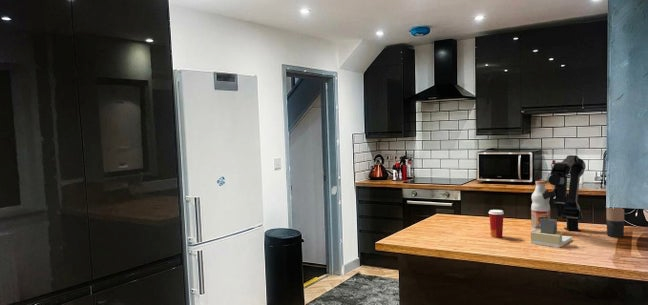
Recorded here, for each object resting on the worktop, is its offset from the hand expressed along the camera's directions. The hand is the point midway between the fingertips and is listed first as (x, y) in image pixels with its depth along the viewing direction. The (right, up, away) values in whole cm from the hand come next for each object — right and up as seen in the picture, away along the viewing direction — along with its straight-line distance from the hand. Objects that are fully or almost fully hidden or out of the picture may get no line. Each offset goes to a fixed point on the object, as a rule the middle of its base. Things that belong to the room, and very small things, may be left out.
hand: (559, 216), depth 228 cm
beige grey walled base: (-8, -12, -8) cm, 16 cm away
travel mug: (+28, -10, -2) cm, 30 cm away
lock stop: (-11, -10, -10) cm, 18 cm away
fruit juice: (-2, -11, +14) cm, 18 cm away
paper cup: (-30, -12, +6) cm, 33 cm away
